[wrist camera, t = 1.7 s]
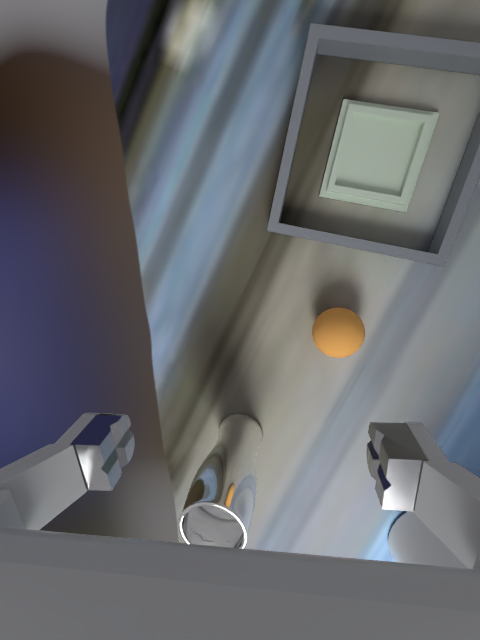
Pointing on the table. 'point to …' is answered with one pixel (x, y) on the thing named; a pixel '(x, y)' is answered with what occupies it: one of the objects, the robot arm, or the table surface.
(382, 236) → the table surface
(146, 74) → the table surface
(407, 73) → the table surface
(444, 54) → the low wall pen
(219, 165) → the table surface
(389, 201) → the resting pad
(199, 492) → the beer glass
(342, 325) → the ball
